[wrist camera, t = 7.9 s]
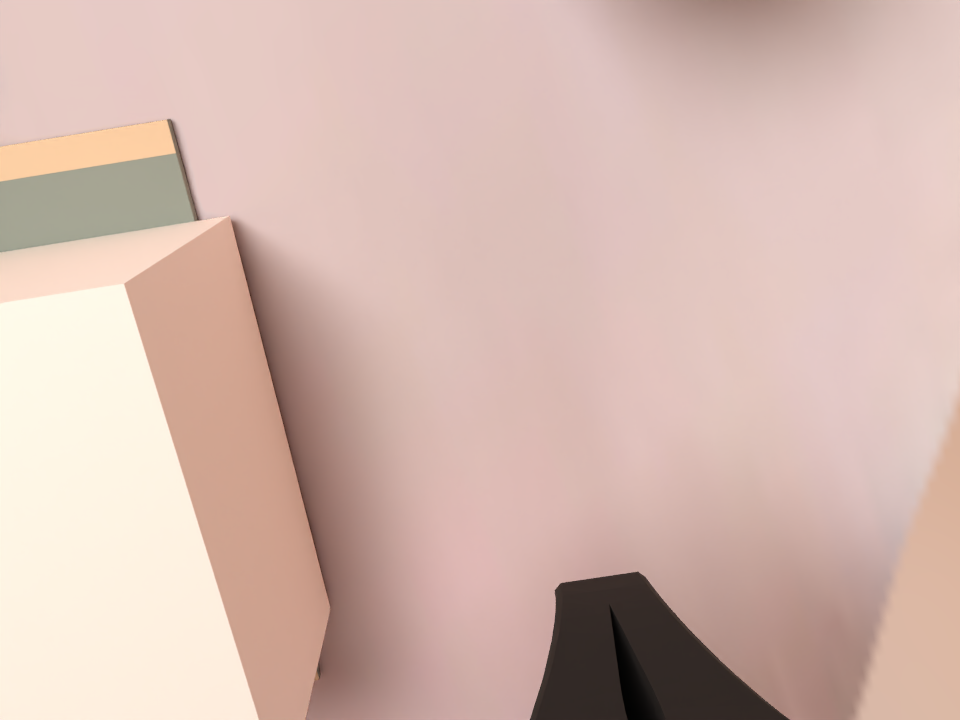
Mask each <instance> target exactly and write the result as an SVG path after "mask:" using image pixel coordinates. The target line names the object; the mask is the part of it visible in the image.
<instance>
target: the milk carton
mask: <svg viewBox="0 0 960 720" xmlns="http://www.w3.org/2000/svg"><path fill="white" fill-rule="evenodd" d="M329 614H330V605H329V601H328V597H327V593H326V589H325V585H324V581H323V577H322V574H321V570H320V566H319V562H318V558H317V554H316V550H315V546H314V542H313V539H312V535H311V531H310V527H309V523H308V519H307V515H306V511H305V507H304V504H303V500H302V496H301V492H300V488H299V484H298V480H297V476H296V472H295V469H294V465H293V461H292V457H291V453H290V449H289V445H288V441H287V437H286V434H285V430H284V426H283V422H282V418H281V414H280V410H279V406H278V402H277V399H276V395H275V391H274V387H273V383H272V379H271V375H270V371H269V367H268V363H267V360H266V356H265V352H264V348H263V344H262V340H261V336H260V332H259V328H258V325H257V321H256V317H255V313H254V309H253V305H252V301H251V297H250V293H249V290H248V286H247V282H246V278H245V274H244V270H243V266H242V262H241V258H240V255H239V251H238V247H237V243H236V239H235V235H234V231H233V227H232V223H231V220H230V216H225V217H219V218H213V219H206V220H200V221H194V222H188V223H181V224H175V225H169V226H163V227H156V228H150V229H144V230H138V231H131V232H125V233H119V234H112V235H106V236H100V237H94V238H87V239H81V240H75V241H69V242H62V243H56V244H50V245H44V246H37V247H31V248H25V249H19V250H12V251H6V252H0V720H305V719H306V715H307V710H308V706H309V702H310V697H311V693H312V688H313V684H314V680H315V675H316V671H317V666H318V662H319V658H320V653H321V649H322V644H323V640H324V636H325V631H326V627H327V622H328V618H329Z"/></svg>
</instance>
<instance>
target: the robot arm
mask: <svg viewBox="0 0 960 720" xmlns="http://www.w3.org/2000/svg"><path fill="white" fill-rule="evenodd" d="M555 596H556V613H555V623H554V629H553V636H552V642H551V646H550V651H549V655H548V660H547V664H546V668H545V673H544V677H543V680H542V684H541V687H540V690H539V693H538V696H537V699H536V703H535V706H534V709H533V712H532V715H531V718H530V720H789V719H788V718H787V717H785V716H784V715H783V714H781V713H780V712H779V711H778V710H776V709H775V708H774V707H773V706H771V705H770V704H769V703H768V702H766V701H765V700H764V699H763V698H762V697H760V696H759V695H758V694H757V693H756V692H754V691H753V690H752V689H751V688H750V687H749V686H748V685H746V684H745V683H744V682H743V681H742V680H741V679H740V678H739V677H737V676H736V675H735V674H734V673H733V672H732V671H731V670H730V669H729V668H728V667H726V666H725V665H724V664H723V663H722V662H721V661H720V660H719V659H718V658H717V657H716V656H715V655H714V654H713V653H712V652H711V651H710V650H709V649H708V648H707V647H706V646H705V645H704V644H703V643H702V642H701V641H700V640H699V639H698V638H697V637H696V636H695V635H694V634H693V633H692V632H691V631H690V630H689V629H688V628H687V627H686V625H685V624H684V623H683V622H682V621H681V620H680V619H679V618H678V617H677V615H676V614H675V613H674V612H673V611H672V610H671V609H670V608H669V606H668V605H667V604H666V603H665V602H664V600H663V599H662V598H661V597H660V596H659V594H658V593H657V592H656V591H655V589H654V588H653V587H652V585H651V584H650V583H649V581H648V580H647V579H646V577H644V576H643V575H642V574H640V573H639V572H633V573H627V574H620V575H613V576H606V577H600V578H593V579H586V580H579V581H572V582H566V583H561V584H560V585H559V586H558V587H557V589H556V590H555Z"/></svg>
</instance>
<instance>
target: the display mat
mask: <svg viewBox="0 0 960 720" xmlns="http://www.w3.org/2000/svg"><path fill="white" fill-rule="evenodd" d="M194 221H198V219H197V216H196V212H195V208H194V205H193V201H192V197H191V193H190V190H189V186H188V182H187V179H186V175H185V171H184V168H183V164H182V160H181V156H180V153H179V149H178V145H177V142H176V138H175V134H174V131H173V127H172V123H171V120H170V119H168V120H162V121H156V122H150V123H143V124H137V125H131V126H125V127H119V128H113V129H106V130H100V131H94V132H88V133H82V134H76V135H69V136H63V137H57V138H51V139H45V140H39V141H33V142H26V143H20V144H14V145H8V146H2V147H0V252H6V251H12V250H19V249H25V248H31V247H37V246H44V245H50V244H56V243H62V242H69V241H75V240H81V239H87V238H94V237H100V236H106V235H112V234H119V233H125V232H131V231H138V230H144V229H150V228H156V227H163V226H169V225H175V224H181V223H188V222H194ZM319 678H320V670H319V666H317V671H316V675H315V680H319Z"/></svg>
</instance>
